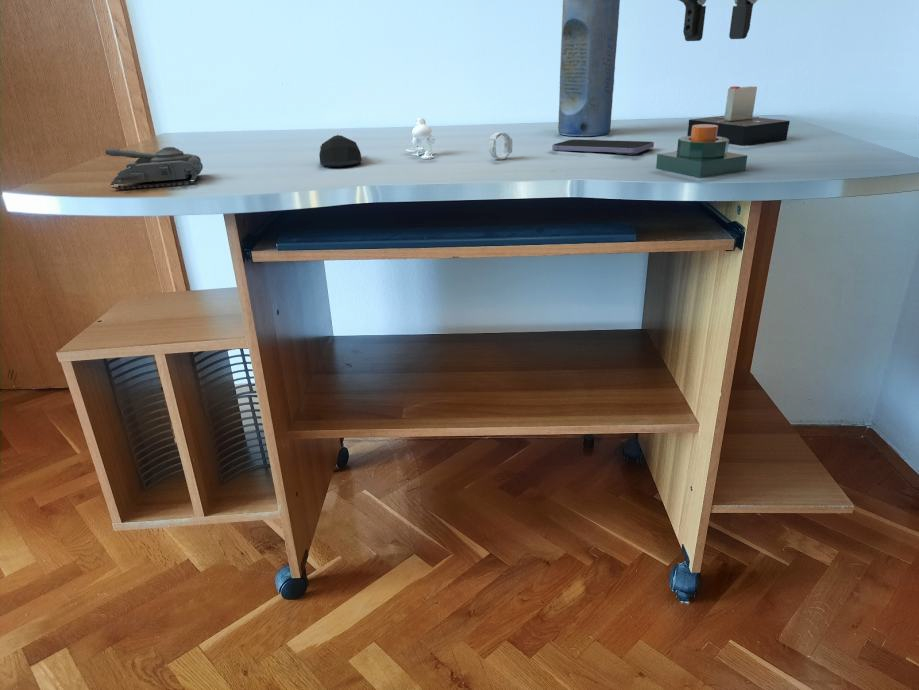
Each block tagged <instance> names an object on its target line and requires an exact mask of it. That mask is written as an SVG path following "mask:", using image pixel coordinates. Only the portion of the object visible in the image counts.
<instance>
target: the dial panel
mask: <svg viewBox="0 0 919 690" xmlns="http://www.w3.org/2000/svg"><path fill="white" fill-rule="evenodd" d="M724 117H725V115H716V116H709V117H699V118H692V119H688V126H687V134H686V137H687V136H691V131H692V126H693V125H698V124H711V125H717V126H718V132H717V136H718V137H725V138H727V139H729V144H728V145H733V146H740V147H745V146H753V145H760V144H767V143H775V142H780V141H781V142H782V141H787V138H788V135H789V134H788V133H789V127H790V122H791V121H790V120H788V119H787V120H786V119H776V118H769V117H768V118H767V117H760V116H753V117H752V119H747V120H738V121H724Z"/></svg>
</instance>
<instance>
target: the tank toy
mask: <svg viewBox="0 0 919 690" xmlns="http://www.w3.org/2000/svg"><path fill="white" fill-rule="evenodd" d="M105 155H108V157H109V156H110V157H123V158H124V157H125V158H130V159H136V160H134V161H131V162H129V163H128V164H126V165H125V167H126V168H124V169H121V170H120V171H119V172H117V176H115V177H114V179H113V180H112V181H111V183H110V184H109V186H110V185H114V184H118V185H119V186H118V187H111V188H112V189H115V190H117V191H118V190H125V189H126V190H130V189H132V190H134V189H142V188H144V189H148V188H160V187H161V188H162V187H163V188H164V187H171V186H172V187H175V186H189V185H192V184H193V183H194V182H195V180H196V179H197V176H199V175H200V174H201V173H202V171H203V168H204V166H203V162H202V160H201V157H200V156H198V155H196V154H190V153H184V151H183V150H180V149H179V148H177V147H175V146H166V147H163V148H162V149H160V150H158V151H157V152H155V153H149V152H141V151H135V150H125V149H124V150H123V149H119V148H113V147H109V148H105ZM188 178H190V179H191V180H194V181H190V179H188ZM176 180H178V181H176ZM152 181H153V182H152ZM166 181H167V182H166ZM132 184H133V185H132Z"/></svg>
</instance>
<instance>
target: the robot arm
mask: <svg viewBox="0 0 919 690" xmlns="http://www.w3.org/2000/svg"><path fill="white" fill-rule="evenodd" d="M678 1H679V2H681V3H682V4H683V5H684V6H685V13H684V21H683V31H682V32H683V36H684V40H685V41H686V42H700V41H702V39H703V35H704V26H705V19H706V10H707V5H705V3H706V2H707V0H678ZM757 1H758V0H734V4H735V5H733V6H732V11H731V19H730V20H731V21H730V27H729V33H728V37H729V39H730V40H744V39H746V38H747V36H748V33H749V31H750V28H751V21H752V14H753V9H754V8H753V7H754V4H756V3H757Z"/></svg>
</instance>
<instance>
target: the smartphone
mask: <svg viewBox="0 0 919 690" xmlns="http://www.w3.org/2000/svg"><path fill="white" fill-rule="evenodd" d="M654 146H655V142H654V141H644V140H641V141H640V140H638V141H637V140H607V139H605V140H603V139H602V140H601V139H567V140H564V141H561V142H558V143H554V144H552V145H551V147H552V148H551V149H552V150H553V151H567V152H572V151H573V152H594V153H595V152H596V153H615V154H616V155H621V156H622V155H623V156H624V155H628V156H636V155H638V154H640V153H643V152H645V151H647V150H650V149H653V148H654Z"/></svg>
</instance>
